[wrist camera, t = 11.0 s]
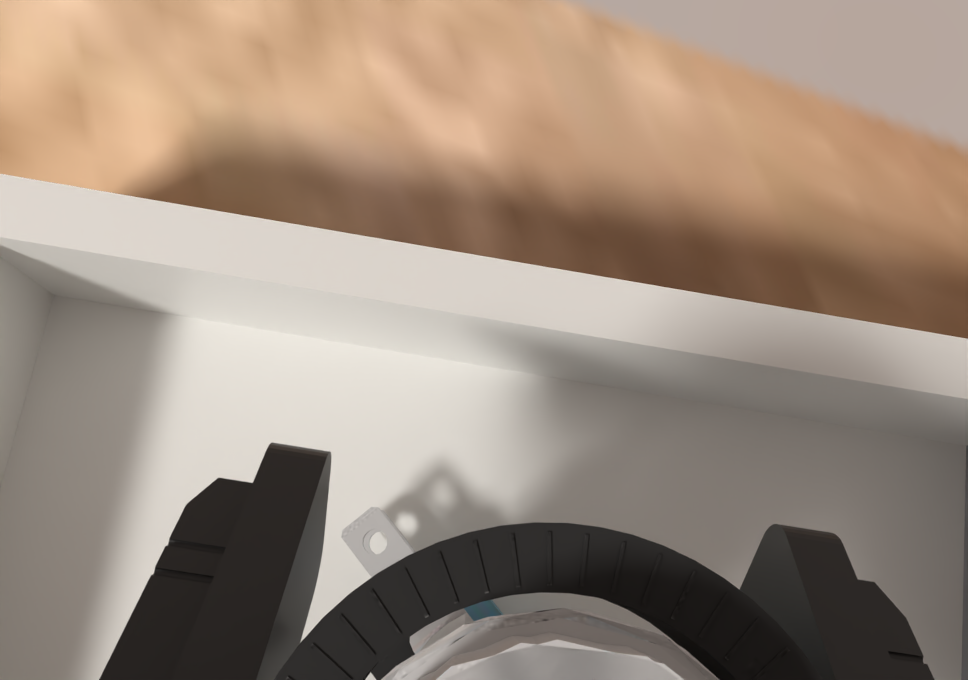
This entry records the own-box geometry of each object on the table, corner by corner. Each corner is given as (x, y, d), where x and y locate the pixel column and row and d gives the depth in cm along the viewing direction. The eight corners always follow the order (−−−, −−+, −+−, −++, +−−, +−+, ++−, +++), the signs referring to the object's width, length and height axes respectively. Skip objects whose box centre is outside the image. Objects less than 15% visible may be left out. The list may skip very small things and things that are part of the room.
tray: (984, 412, 19) (1155, 370, 15) (973, 1062, 16) (1183, 1252, 12) (36, 253, 18) (-82, 159, 14) (-152, 911, 15) (-377, 1055, 11)
